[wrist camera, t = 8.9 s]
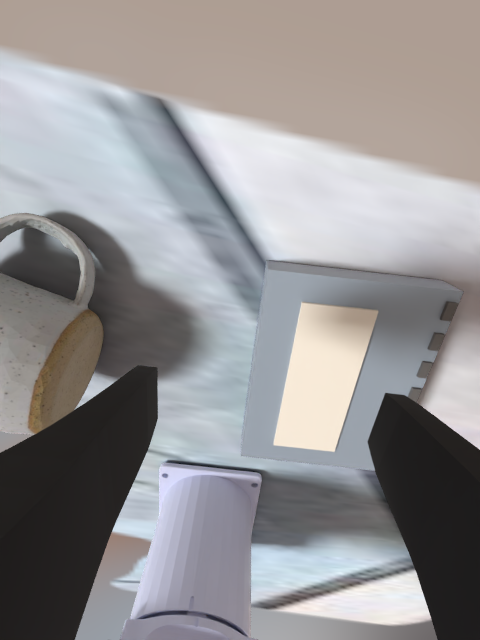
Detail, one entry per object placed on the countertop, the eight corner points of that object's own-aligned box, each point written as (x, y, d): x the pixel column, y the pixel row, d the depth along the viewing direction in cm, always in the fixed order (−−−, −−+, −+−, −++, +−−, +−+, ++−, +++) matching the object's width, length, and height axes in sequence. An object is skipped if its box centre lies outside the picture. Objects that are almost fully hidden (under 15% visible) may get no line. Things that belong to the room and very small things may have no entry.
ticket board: (376, 448, 23) (388, 474, 21) (241, 434, 23) (240, 458, 21) (441, 280, 17) (466, 292, 15) (266, 260, 17) (268, 270, 15)
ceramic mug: (100, 387, 22) (27, 484, 14) (-20, 350, 21) (-162, 434, 14) (132, 242, 17) (52, 278, 10) (-16, 188, 17) (-214, 188, 10)
